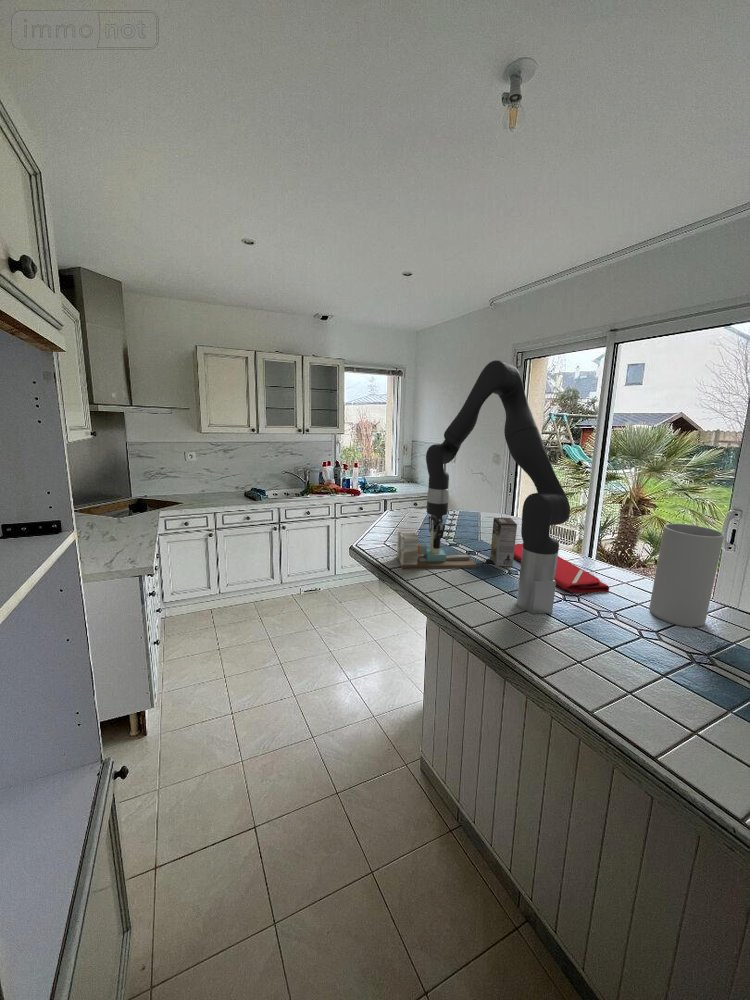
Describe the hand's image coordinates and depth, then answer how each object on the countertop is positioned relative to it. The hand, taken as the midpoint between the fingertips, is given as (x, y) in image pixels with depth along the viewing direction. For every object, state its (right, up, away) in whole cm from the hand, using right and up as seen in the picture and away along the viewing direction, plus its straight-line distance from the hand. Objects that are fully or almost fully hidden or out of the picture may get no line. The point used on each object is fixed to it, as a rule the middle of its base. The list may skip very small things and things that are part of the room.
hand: (435, 546), depth 146 cm
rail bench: (0, -6, +1) cm, 6 cm away
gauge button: (-9, -3, 0) cm, 9 cm away
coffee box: (+25, -6, +3) cm, 26 cm away
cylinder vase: (+61, -16, -35) cm, 73 cm away
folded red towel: (+41, -8, -2) cm, 42 cm away
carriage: (-1, -5, +1) cm, 5 cm away
